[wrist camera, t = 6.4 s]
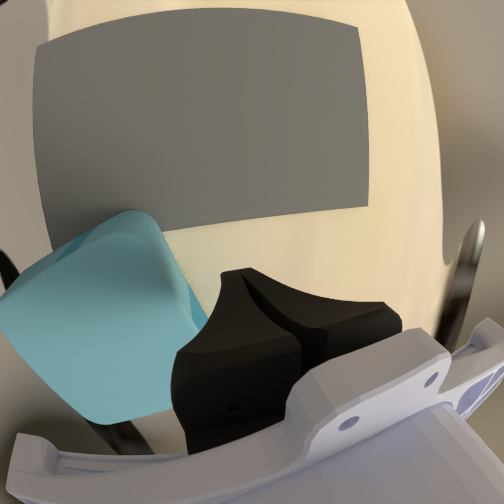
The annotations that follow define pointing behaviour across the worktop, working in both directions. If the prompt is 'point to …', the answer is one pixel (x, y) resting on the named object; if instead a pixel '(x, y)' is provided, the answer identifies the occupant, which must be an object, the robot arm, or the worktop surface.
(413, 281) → the worktop surface
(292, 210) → the mat
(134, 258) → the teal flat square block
